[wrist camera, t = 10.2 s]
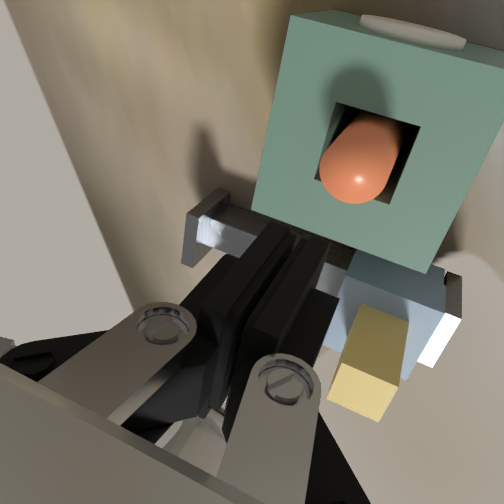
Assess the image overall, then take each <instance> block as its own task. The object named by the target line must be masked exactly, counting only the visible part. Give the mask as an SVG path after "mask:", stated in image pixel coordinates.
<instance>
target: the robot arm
mask: <svg viewBox="0 0 504 504" xmlns="http://www.w3.org/2000/svg"><path fill="white" fill-rule="evenodd" d="M290 232H291V227H289V226H286V225H283V224H281V223H278V222H275V221H273V220H271V221H270V222H269V223H268V224H267V226H266V227H265V228H264V229H263V230H262V232H261V233H260V234H259V235H258V236H257V238H256V239H255V240H254V241H253V242H252V243H251V245H250V246H249V247H248V248H247V249H246V251H245V252H244V253H243V254H242V255H241V257H240V258H237V257H235V256H232V255H230V254H225V255H224V256H223V257H222V258H221V259H220V260H219V261H218V262H217V264H216V265H215V266H214V267H213V268H212V269H211V270H210V271H209V272H208V273H207V275H206V276H205V277H204V278H203V279H202V280H201V281H200V282H199V283H198V285H197V286H196V287H195V288H194V289H193V290H192V291H191V292H190V293H189V294H188V296H187V297H186V298H185V299H184V300H183V301H182V302H181V303H180V304H179V305H177V304H173V303H167V302H156V303H152V304H148V305H145V306H143V307H141V308H139V309H138V310H136V311H135V312H133V313H132V314H131V315H129V316H128V317H127V318H125V319H124V320H122V321H121V322H120V323H119V324H117V325H116V326H114V327H113V328H111V329H110V330H107V331H100V332H94V333H87V334H79V335H73V336H66V337H59V338H52V339H46V340H39V341H33V342H29V343H25V344H21V345H19V346H15V343H14V340H11V339H7V338H3V337H0V504H371V503H370V501H369V500H368V498H367V496H366V494H365V492H364V491H363V489H362V487H361V485H360V484H359V482H358V480H357V478H356V477H355V475H354V473H353V471H352V469H351V468H350V466H349V464H348V462H347V461H346V459H345V457H344V455H343V454H342V452H341V450H340V448H339V446H338V445H337V443H336V441H335V439H334V438H333V436H332V434H331V432H330V431H329V429H328V427H327V425H326V423H325V422H324V420H323V418H322V416H321V415H320V413H319V404H320V397H321V383H320V380H319V378H318V375H317V374H316V372H315V371H314V370H313V366H314V364H315V361H316V359H317V356H318V354H319V351H320V349H321V346H322V344H323V341H324V339H325V336H326V334H327V331H328V329H329V326H330V324H331V321H332V318H333V316H334V313H335V311H336V308H337V305H338V303H339V300H340V298H338V297H335V296H333V295H330V294H328V293H325V292H323V291H320V290H318V289H316V286H317V283H318V280H319V277H320V274H321V272H322V269H323V266H324V263H325V260H326V257H327V254H328V251H329V248H330V244H331V242H329V241H327V240H324V239H321V238H319V237H316V236H313V235H311V236H310V237H309V239H306V238H303V237H302V238H301V239H300V240H299V242H298V243H297V245H296V246H295V248H294V249H293V247H294V244H295V240H296V235H295V234H292V233H290ZM227 396H228V398H227ZM226 398H227V402H226V406H225V410H224V413H225V416H222V415H221V414H220V413H218V412H217V411H215V410H214V409H216V410H219V409H220V408H221V406H222V404H223V403H224V401H225V399H226ZM212 408H214V409H212Z"/></svg>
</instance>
